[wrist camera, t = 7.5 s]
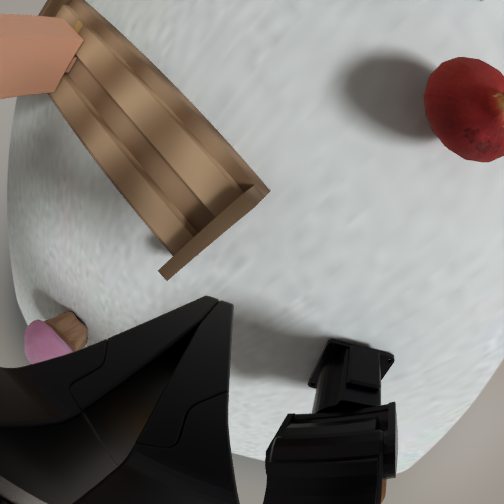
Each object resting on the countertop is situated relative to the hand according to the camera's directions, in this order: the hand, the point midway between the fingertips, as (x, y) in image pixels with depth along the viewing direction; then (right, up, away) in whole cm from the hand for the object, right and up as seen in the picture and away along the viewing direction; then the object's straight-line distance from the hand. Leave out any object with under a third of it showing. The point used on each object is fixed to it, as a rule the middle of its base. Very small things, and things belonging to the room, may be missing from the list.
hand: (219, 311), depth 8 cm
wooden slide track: (-10, +14, +12) cm, 21 cm away
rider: (-16, +20, +9) cm, 27 cm away
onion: (+14, +11, +6) cm, 18 cm away
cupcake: (-24, -9, +27) cm, 37 cm away
